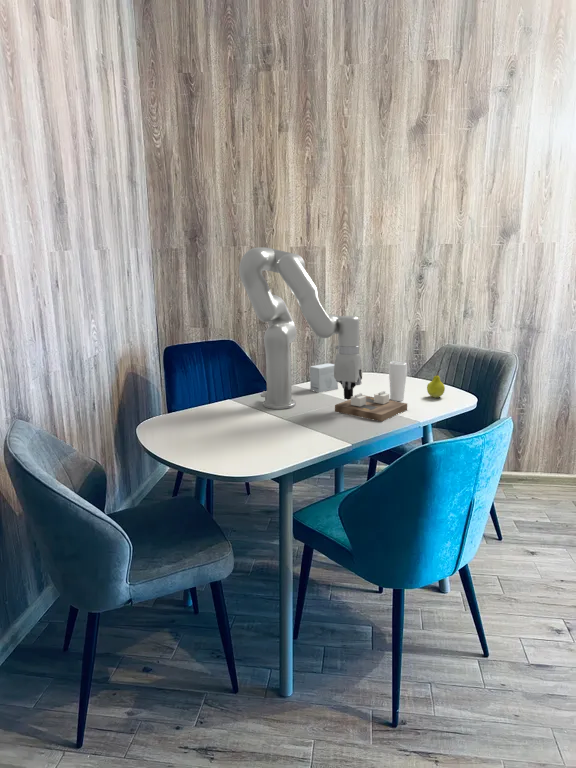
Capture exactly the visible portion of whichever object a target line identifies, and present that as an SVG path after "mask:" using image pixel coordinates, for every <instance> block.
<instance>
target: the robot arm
mask: <svg viewBox="0 0 576 768" xmlns="http://www.w3.org/2000/svg"><path fill="white" fill-rule="evenodd" d="M263 271H268V272H272V273H273V272H274V273H277V274H279V275H280V276H281V278H282V280H283V281H284V283H285V284H286V286H287V287H288V288H289V290H290V292H291V293H292V294H293V296H294V298H295V299H296V301H297V304H298V307H299V309H300V310H301V314H302V315H303V317H304V319H305V321H306V322H307V324H308V325H309V327H310V328H311V330H312V331H313V332H314V334H315V335H316V336H318V338H321V339H329V338H331V337H332V336H334V335H338V337H337V339H338V340H337V341H338V342H337V343H338V344H337V345H336V347H335V349H336V350H337V352H336V354H335V358H334V363H333V364H334V378H335V379H336V381H337V382H338V384H339V383H340V385H341V387H342V389H343V396H344V397H343V398H344V399H343V400H346V401H347V400H350V399H351V397H352V396H354V389H355V387H356V386H360V385H362V379H363V363H362V356H361V353H360V318H359V317H358V316H355V315H335V314H327V312H326V311H325V309H324V307H323V306H322V304H321V302H320V300H319V296H318V295H319V294H318V288H317V286H316V284H315V283H314V281H313V280H312V278H311V276H310V275H309V274H308V272H307V270H306V264H305V259H303V257H302V256H301V255H300V254H298V253H294V252H288V251H284V250H280V249H275V248H271V247H265V246H264V247H261V246H260V247H252V248H251V249H249V250H247V251H246V252H245V253H244V254H243V256H242V258H241V260H240V261H239V267H238V273H239V278H240V281H241V283H242V286H243V287H244V289H245V292H246V295H247V297H248V299H249V301H250V304H251V306H252V308H253V311H254V313H255V316H256V317H257V319H259V320H260V321H261V322H262V323H263V322H264V323H268V325H269V326H268V327H267V329H266V330H265V331H264V335H263V345H264V351H265V366H266V367H265V368H266V370H265V372H266V391H265V390H263V391H262V392H261V394H260V397H262V398H264V400H263V402H262V406H264V408H267V409H273V410H285V409H291V408H293V407H295V406H296V400H295V399H292V396H293V395H292V394H293V393H292V355H291V349H290V346H291V345H290V344H291V343H293V342H294V341H295V340H296V338H297V336H298V335H297V333H298V331H297V327H296V324H295V322H294V320H293V317H292V315H291V313H290V310H289V308H288V306H287V304H286V302H285V301H284V299H283V298H282V297H281V296H279V295H277V294H273V293H272V290H271V288H270V285H269V284H268V282H267V280H266V278H265V277H264V275H263Z"/></svg>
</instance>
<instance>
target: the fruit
mask: <svg viewBox="0 0 576 768" xmlns="http://www.w3.org/2000/svg"><path fill="white" fill-rule="evenodd" d="M441 370H442V368H440V369H438V370H437V373H436V375H434V376H433V378H432V380H431V381H430V382H429V383H428V384H427V385H426V390H427V391H426V392H427V393H428V395H429V396H431V397H432V398H436V399H437V398H440V397H442V395H444V393H445V391H446V390H445V389H446V387H445V385H444V383H443V381H441V377H440V376H439V375H438V374H439V372H440V371H441Z"/></svg>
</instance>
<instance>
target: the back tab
mask: <svg viewBox="0 0 576 768" xmlns="http://www.w3.org/2000/svg"><path fill="white" fill-rule="evenodd" d="M373 396H374V402H375V403H380V404H385V403H387V402H389V400H390V393H386V391H385V390H383V391H380V392H377V393H375V394H374V395H373Z"/></svg>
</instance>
